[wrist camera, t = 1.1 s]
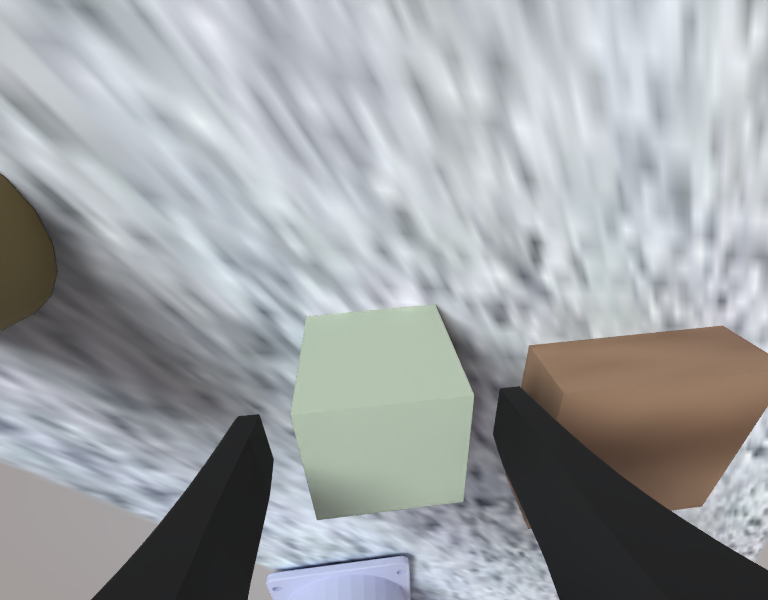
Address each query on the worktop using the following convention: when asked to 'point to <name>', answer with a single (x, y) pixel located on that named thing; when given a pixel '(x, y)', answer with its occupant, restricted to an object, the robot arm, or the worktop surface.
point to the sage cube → (381, 412)
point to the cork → (22, 258)
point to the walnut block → (655, 404)
